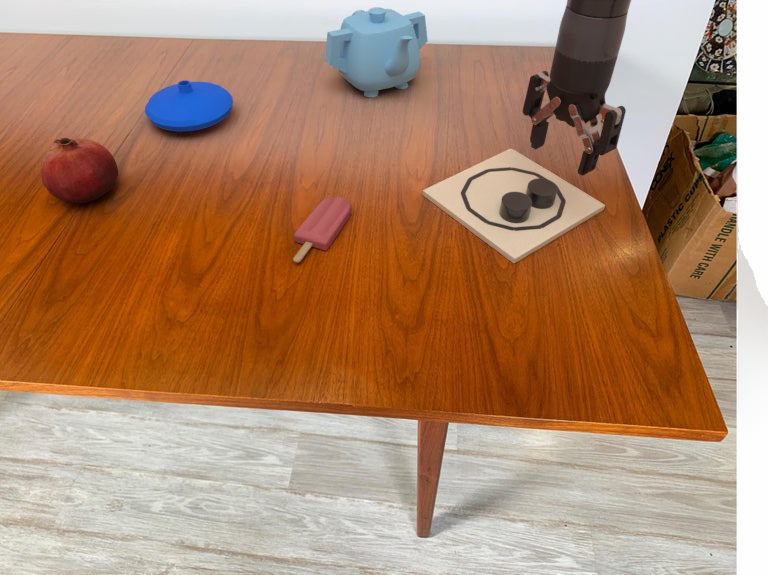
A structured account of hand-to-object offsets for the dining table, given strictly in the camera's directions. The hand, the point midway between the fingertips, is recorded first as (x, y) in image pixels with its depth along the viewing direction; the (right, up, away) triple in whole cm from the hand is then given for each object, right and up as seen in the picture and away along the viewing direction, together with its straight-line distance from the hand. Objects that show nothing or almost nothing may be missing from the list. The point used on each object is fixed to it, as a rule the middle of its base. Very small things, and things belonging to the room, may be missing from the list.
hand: (559, 159), depth 83 cm
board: (-5, -5, +9) cm, 11 cm away
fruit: (-72, -4, +10) cm, 73 cm away
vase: (-61, +13, +26) cm, 67 cm away
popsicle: (-35, -10, +3) cm, 36 cm away
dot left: (-5, -7, +5) cm, 10 cm away
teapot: (-26, +23, +35) cm, 49 cm away
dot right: (-1, -5, +7) cm, 9 cm away
